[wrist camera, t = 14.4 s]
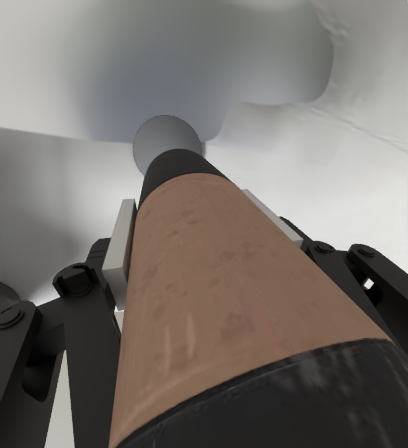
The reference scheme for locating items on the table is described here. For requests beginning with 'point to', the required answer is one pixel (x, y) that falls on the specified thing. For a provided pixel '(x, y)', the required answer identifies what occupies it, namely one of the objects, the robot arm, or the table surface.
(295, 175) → the table surface
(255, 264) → the travel mug
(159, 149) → the coaster
